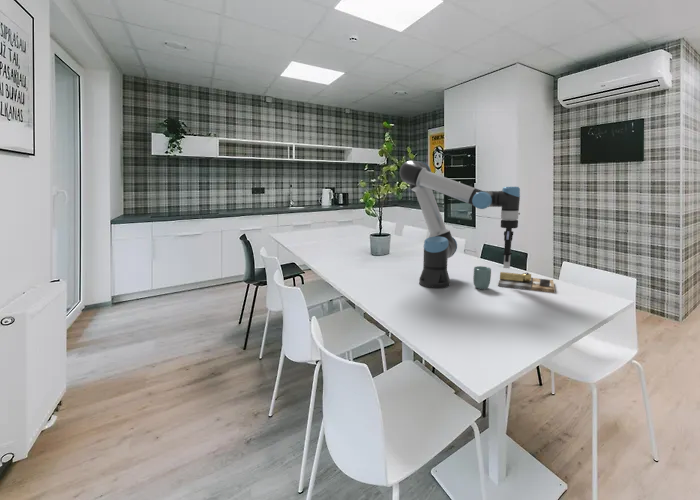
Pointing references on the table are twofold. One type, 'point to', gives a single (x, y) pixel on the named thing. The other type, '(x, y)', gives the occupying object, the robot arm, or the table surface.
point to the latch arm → (516, 276)
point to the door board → (529, 284)
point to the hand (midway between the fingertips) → (506, 267)
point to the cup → (482, 277)
